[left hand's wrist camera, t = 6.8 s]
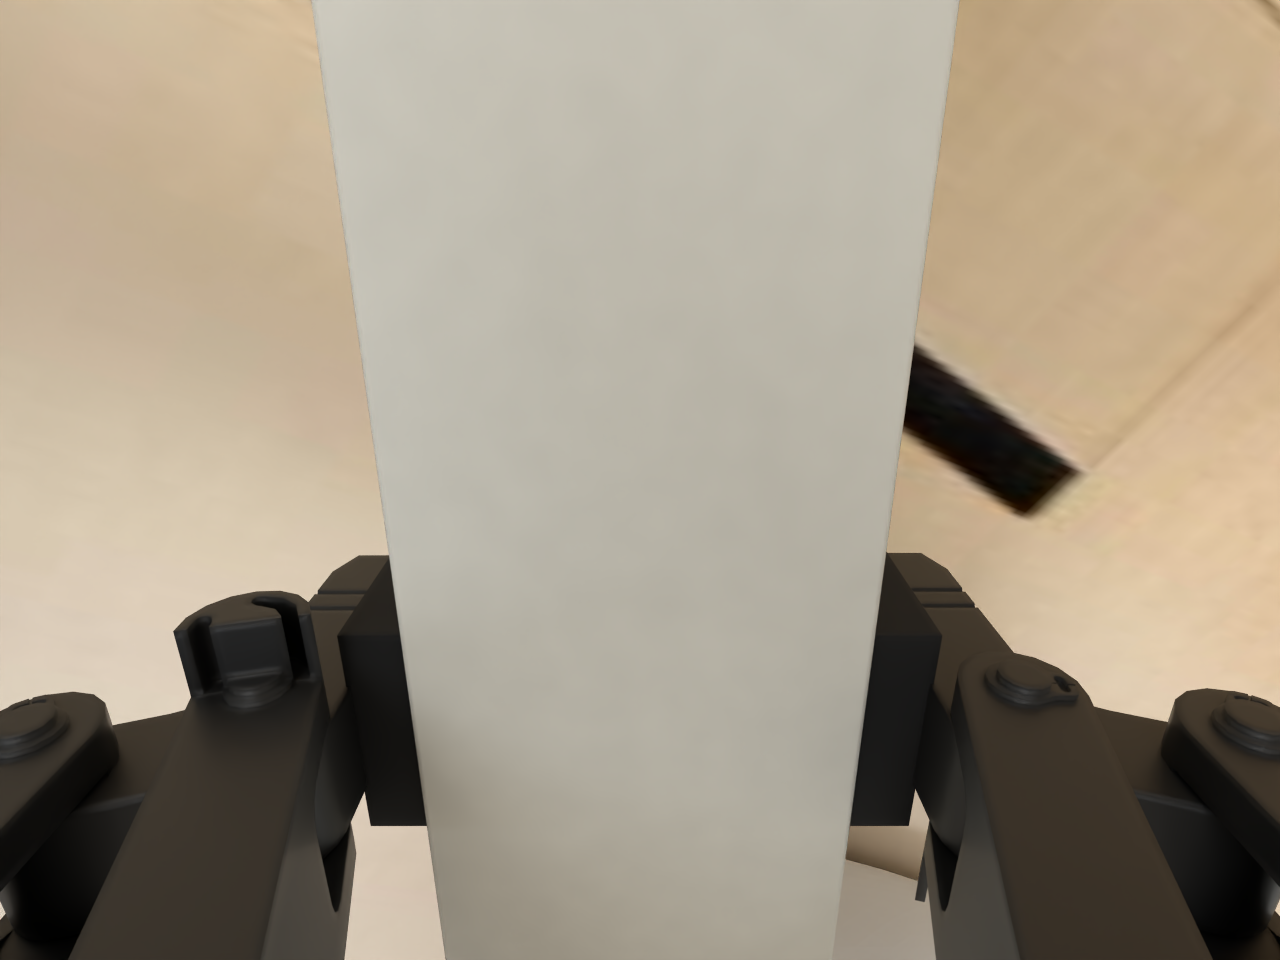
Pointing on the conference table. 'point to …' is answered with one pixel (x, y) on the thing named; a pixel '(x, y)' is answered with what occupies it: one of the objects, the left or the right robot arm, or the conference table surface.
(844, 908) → the projector
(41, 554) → the conference table surface
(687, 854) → the bar
